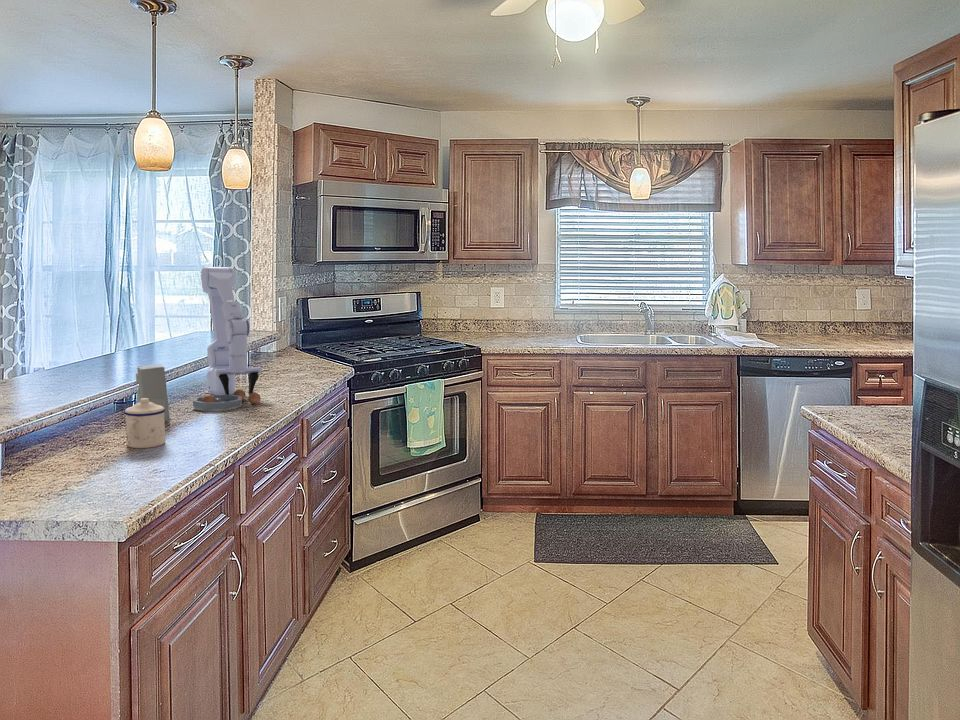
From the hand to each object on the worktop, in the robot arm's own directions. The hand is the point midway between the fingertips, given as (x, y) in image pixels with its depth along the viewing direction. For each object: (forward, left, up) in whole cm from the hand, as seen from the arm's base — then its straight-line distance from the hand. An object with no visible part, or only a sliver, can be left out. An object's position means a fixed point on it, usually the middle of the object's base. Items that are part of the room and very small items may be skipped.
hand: (239, 395), depth 226 cm
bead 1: (0, 0, 0) cm, 0 cm away
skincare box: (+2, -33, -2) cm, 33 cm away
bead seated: (+2, -14, +1) cm, 14 cm away
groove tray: (+2, -10, -2) cm, 11 cm away
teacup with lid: (+24, -52, -2) cm, 57 cm away
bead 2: (+8, -1, 0) cm, 8 cm away
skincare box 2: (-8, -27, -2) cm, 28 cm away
